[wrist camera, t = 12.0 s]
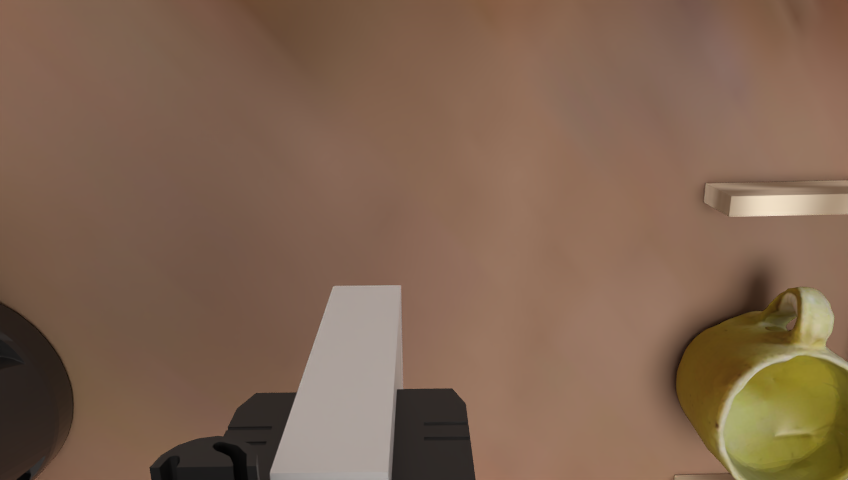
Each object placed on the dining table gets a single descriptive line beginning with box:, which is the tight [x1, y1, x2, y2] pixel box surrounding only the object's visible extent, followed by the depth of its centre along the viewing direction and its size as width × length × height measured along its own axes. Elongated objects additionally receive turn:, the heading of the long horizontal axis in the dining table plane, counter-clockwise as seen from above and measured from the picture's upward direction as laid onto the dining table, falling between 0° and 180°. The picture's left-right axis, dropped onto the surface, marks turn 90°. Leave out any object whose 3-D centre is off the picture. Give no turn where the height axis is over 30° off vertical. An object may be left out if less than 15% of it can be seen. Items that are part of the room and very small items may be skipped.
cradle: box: [674, 180, 848, 480], centre depth 42 cm, size 12×22×4 cm, turn 1°
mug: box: [676, 287, 848, 480], centre depth 41 cm, size 12×10×10 cm
